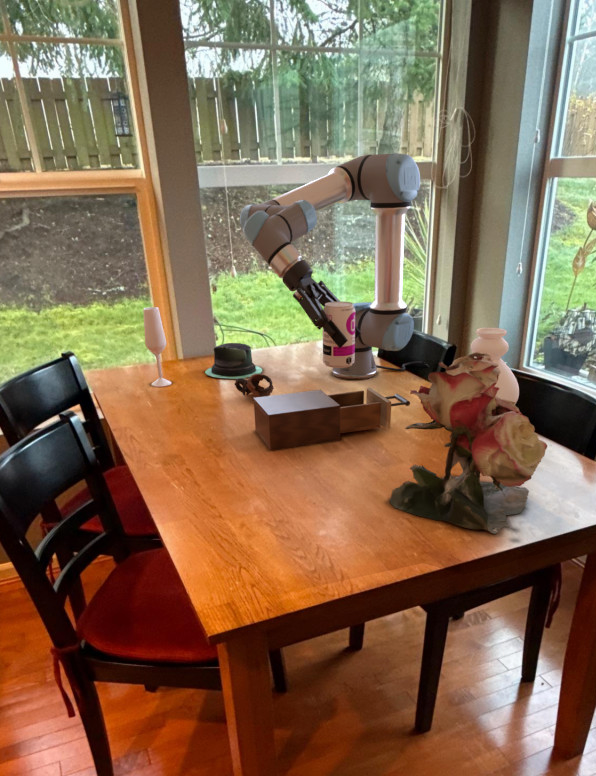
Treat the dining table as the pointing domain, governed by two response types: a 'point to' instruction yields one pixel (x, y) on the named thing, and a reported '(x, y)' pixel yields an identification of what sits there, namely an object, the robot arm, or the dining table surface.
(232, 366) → the dark green rounded hat
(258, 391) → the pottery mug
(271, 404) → the cabinet
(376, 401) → the drawer
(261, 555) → the dining table surface
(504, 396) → the decorative vase
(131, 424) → the dining table surface
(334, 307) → the supplement can
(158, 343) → the champagne flute
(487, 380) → the rose bouquet
